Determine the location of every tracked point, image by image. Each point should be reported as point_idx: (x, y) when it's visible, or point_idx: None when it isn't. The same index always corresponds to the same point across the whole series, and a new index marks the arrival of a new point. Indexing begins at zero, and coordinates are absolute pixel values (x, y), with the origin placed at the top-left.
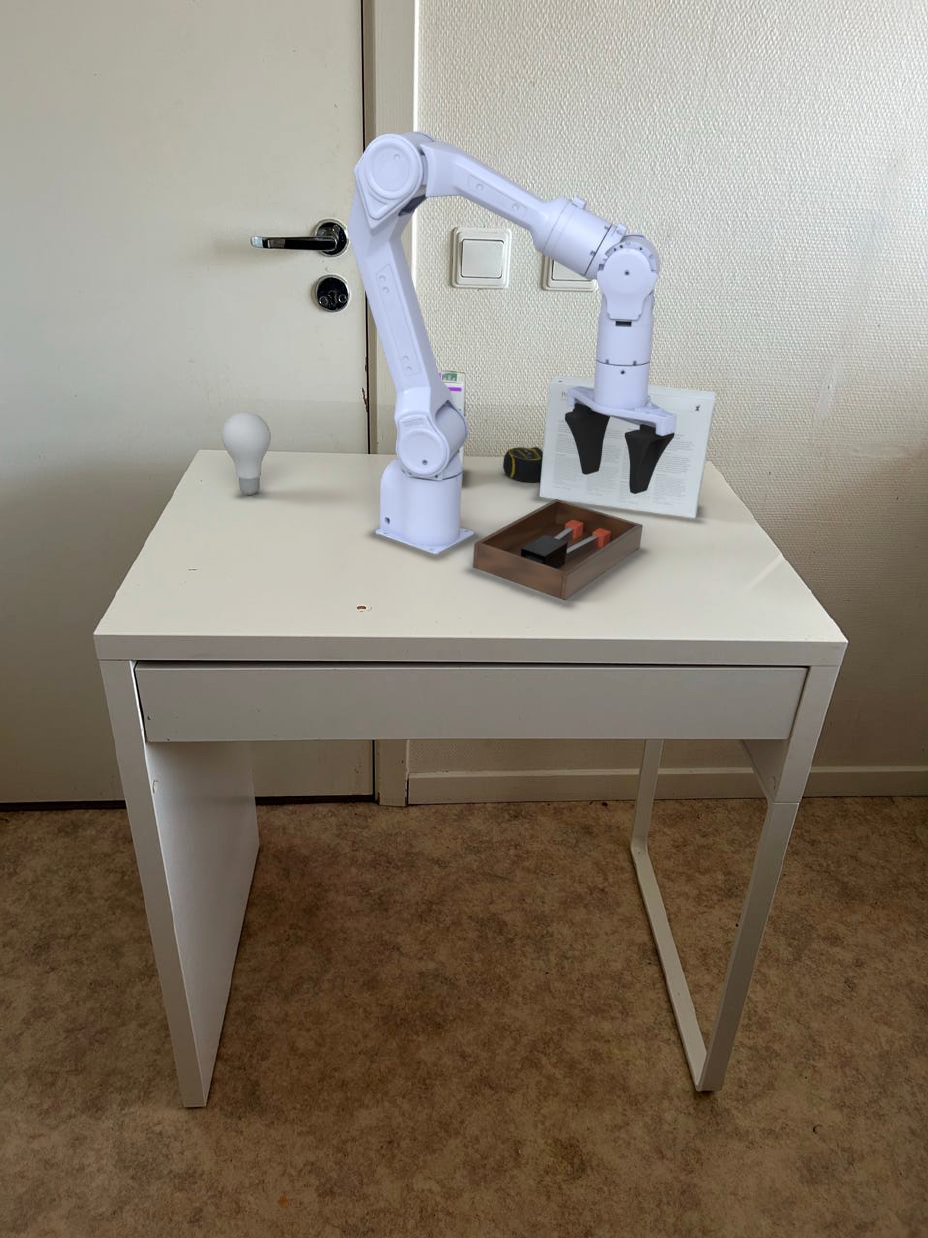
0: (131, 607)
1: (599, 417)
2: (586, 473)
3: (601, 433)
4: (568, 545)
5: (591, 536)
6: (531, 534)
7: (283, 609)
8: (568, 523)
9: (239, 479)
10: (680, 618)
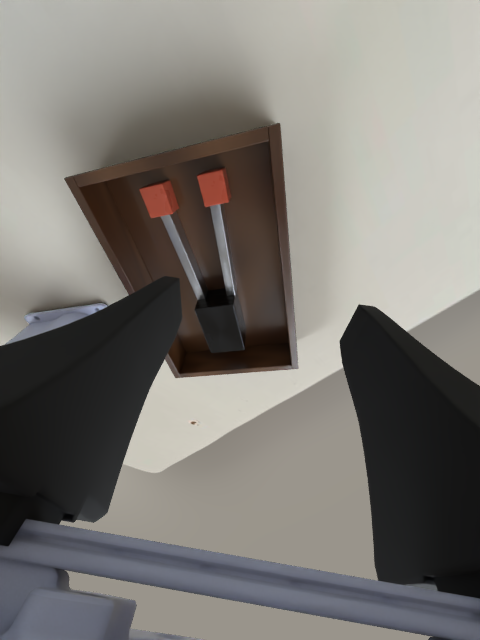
0: (134, 465)
1: (68, 452)
2: (181, 319)
3: (114, 358)
4: (193, 237)
5: (213, 218)
6: (140, 260)
7: (171, 441)
8: (152, 212)
9: None
10: (427, 280)
